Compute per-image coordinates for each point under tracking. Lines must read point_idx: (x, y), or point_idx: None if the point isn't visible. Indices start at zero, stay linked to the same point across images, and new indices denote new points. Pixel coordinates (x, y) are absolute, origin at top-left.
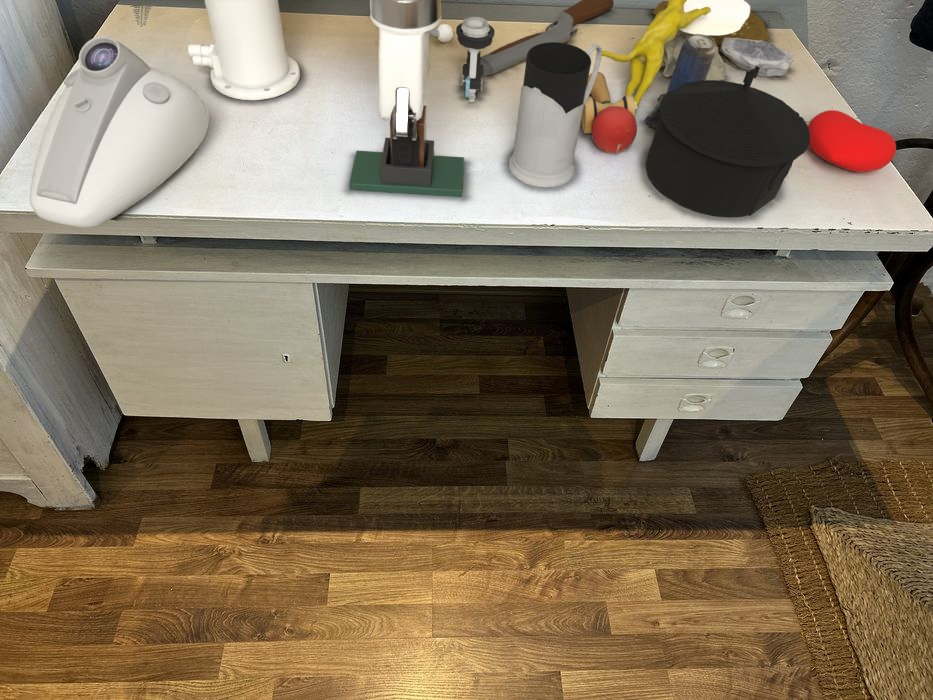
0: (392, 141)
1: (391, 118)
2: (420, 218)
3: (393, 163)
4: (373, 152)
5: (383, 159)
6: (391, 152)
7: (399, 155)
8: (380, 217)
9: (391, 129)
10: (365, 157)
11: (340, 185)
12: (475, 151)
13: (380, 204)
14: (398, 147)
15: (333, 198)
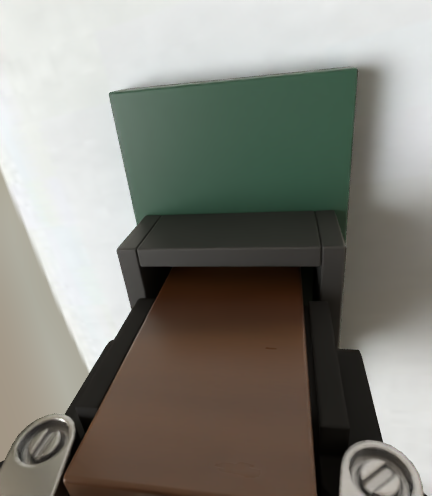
0: (90, 383)
1: (104, 488)
2: (73, 315)
3: (139, 300)
4: (344, 154)
5: (167, 256)
6: (148, 316)
7: (100, 362)
8: (33, 218)
9: (91, 429)
10: (301, 125)
11: (139, 39)
12: (394, 433)
13: (87, 210)
14: (77, 394)
15: (55, 32)
